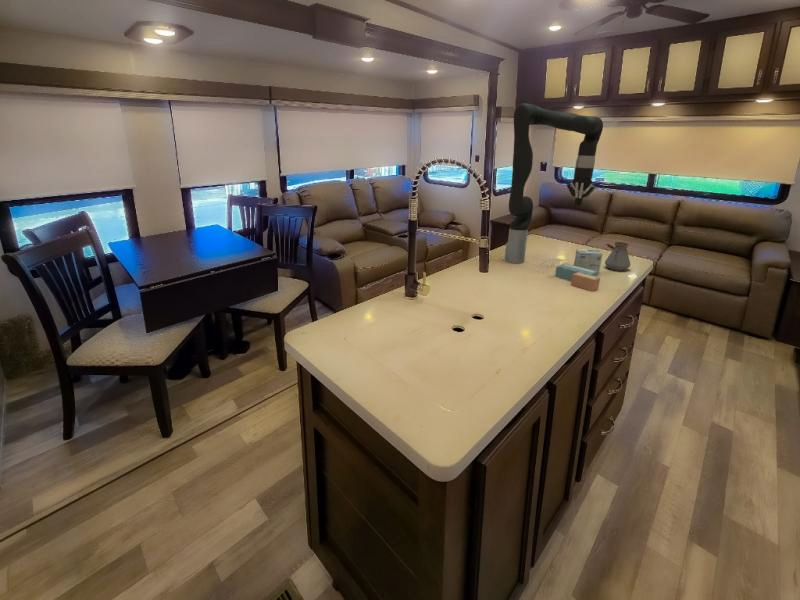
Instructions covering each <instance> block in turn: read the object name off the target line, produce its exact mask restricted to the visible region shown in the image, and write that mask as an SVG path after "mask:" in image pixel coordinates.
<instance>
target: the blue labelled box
mask: <svg viewBox="0 0 800 600" xmlns="http://www.w3.org/2000/svg"><path fill="white" fill-rule="evenodd" d="M577 272H580V273H584V274H588V275H592V276H596V277H598V275H599V274H598V271H595V270H591V269H587V268H582V267H578V266H574V264H569V263H565V262H564V263H562V264H559V265H557V266H556V267H555V274H554V277H555V278H558V279H562V280H566V281H568V282H569V281H570V282H571V281H572V275H573V274H575V273H577Z"/></svg>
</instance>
